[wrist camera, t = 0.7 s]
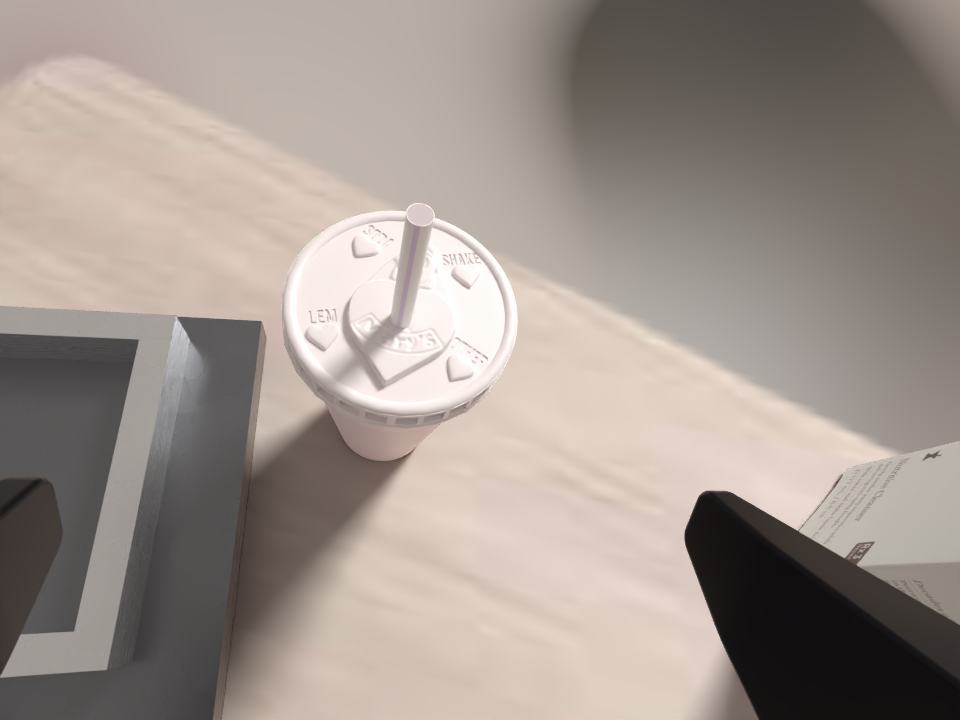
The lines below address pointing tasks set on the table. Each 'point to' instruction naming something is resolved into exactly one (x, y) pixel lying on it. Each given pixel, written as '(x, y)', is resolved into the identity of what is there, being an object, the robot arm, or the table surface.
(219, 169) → the table surface
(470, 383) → the smoothie
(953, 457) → the skincare box
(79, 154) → the table surface
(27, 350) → the grey tray with knobs
